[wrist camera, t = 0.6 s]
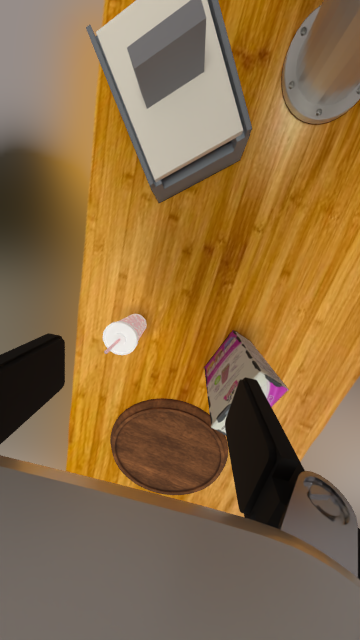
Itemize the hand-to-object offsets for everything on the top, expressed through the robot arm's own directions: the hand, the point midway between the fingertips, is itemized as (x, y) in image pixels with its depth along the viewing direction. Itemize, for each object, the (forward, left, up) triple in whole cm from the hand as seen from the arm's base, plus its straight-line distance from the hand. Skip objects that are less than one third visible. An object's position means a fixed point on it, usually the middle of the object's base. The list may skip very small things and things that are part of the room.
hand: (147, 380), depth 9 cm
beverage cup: (+12, +2, -29) cm, 32 cm away
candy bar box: (-4, +16, -29) cm, 33 cm away
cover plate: (-10, -26, -23) cm, 36 cm away
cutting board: (+20, +37, -30) cm, 51 cm away
